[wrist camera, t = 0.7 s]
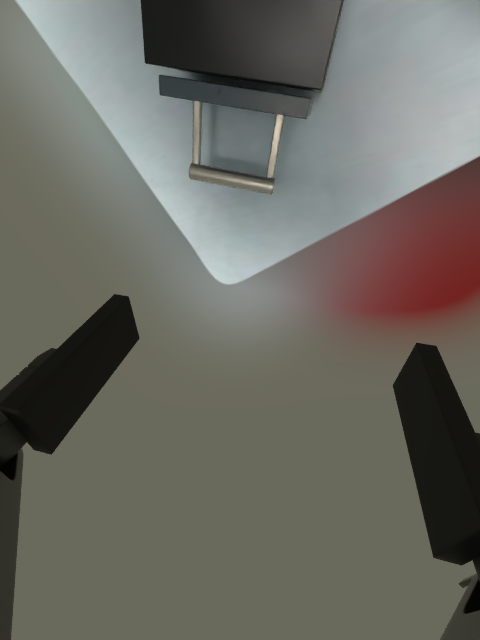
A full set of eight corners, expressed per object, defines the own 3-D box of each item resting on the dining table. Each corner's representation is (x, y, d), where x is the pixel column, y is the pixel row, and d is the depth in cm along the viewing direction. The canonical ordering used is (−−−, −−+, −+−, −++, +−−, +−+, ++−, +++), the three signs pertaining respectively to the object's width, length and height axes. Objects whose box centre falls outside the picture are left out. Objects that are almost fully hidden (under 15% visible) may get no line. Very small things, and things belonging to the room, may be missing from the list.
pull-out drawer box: (293, 187, 30) (287, 206, 25) (190, 167, 31) (163, 181, 26) (370, -153, 18) (389, -259, 12) (193, -165, 19) (143, -266, 14)
